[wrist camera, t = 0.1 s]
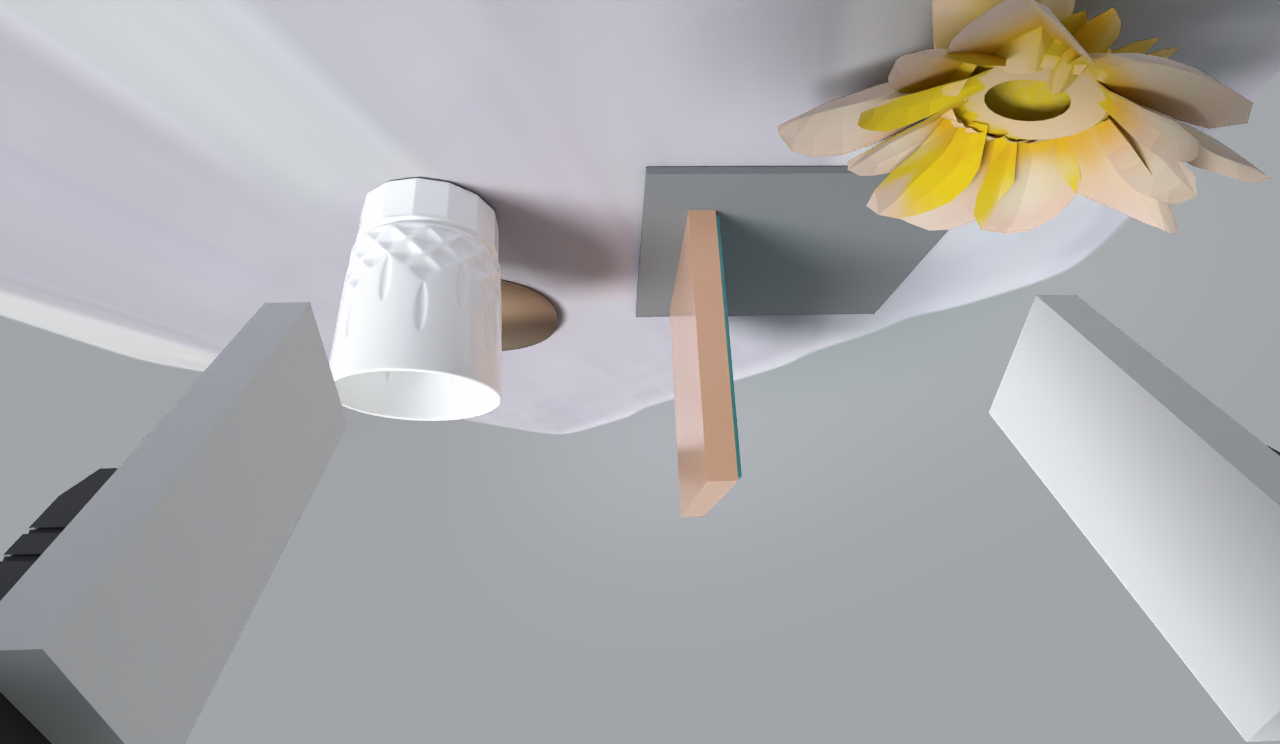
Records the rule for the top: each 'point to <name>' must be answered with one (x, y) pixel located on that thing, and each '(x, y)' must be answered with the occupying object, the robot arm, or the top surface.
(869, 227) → the mat
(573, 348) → the top surface
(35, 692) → the robot arm
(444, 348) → the white cup
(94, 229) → the top surface
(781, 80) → the top surface
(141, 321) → the top surface
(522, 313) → the coaster
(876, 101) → the decorative flower
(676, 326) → the tile
